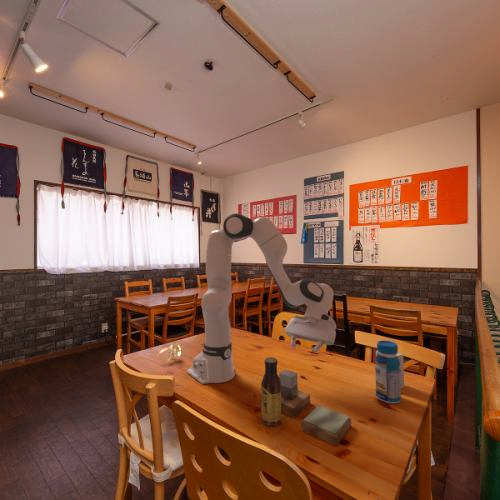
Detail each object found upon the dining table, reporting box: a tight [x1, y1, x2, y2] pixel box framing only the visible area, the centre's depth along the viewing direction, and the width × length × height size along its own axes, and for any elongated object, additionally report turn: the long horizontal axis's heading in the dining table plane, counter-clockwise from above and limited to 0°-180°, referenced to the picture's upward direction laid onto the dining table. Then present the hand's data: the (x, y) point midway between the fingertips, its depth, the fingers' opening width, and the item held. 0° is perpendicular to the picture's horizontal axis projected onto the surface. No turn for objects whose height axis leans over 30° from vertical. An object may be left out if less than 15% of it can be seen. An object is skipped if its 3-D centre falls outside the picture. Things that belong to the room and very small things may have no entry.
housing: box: [278, 368, 299, 400], centre depth 97 cm, size 5×4×8 cm
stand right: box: [300, 405, 352, 447], centre depth 84 cm, size 11×11×3 cm
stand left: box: [281, 390, 311, 418], centre depth 97 cm, size 11×11×3 cm
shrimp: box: [158, 341, 185, 364], centre depth 138 cm, size 11×15×9 cm
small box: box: [375, 349, 405, 389], centre depth 110 cm, size 8×6×13 cm
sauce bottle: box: [260, 356, 282, 427], centre depth 87 cm, size 7×6×20 cm
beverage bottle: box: [374, 340, 402, 405], centre depth 100 cm, size 8×8×20 cm
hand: (303, 349), depth 105 cm, fingers open, 8 cm apart
